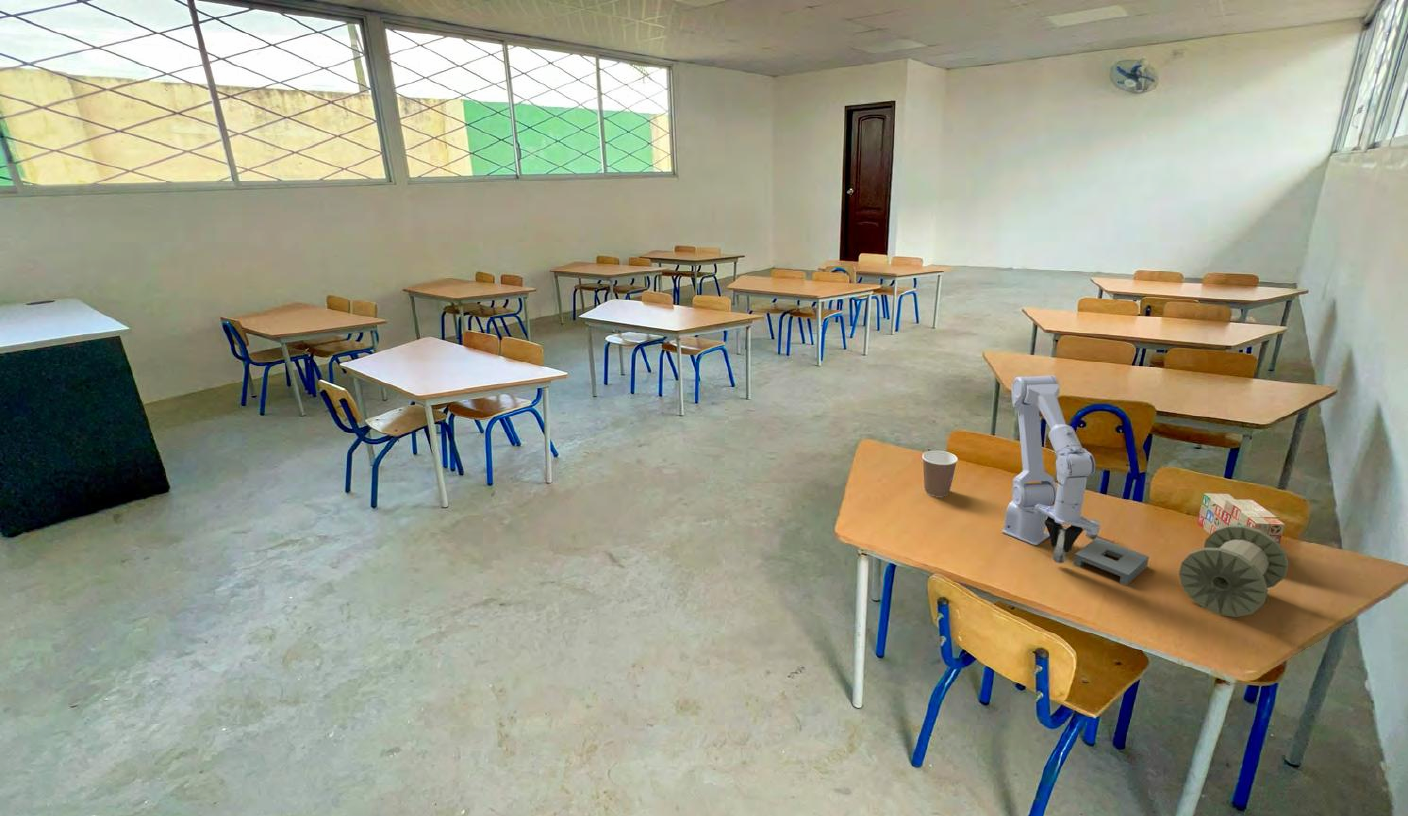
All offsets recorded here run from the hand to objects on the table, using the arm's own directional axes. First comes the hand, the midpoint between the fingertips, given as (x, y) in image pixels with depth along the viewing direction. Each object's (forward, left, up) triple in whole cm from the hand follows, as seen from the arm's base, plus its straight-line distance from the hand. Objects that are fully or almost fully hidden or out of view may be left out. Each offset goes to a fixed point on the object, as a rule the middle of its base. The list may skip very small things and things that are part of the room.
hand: (1060, 548), depth 159 cm
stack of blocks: (+24, +44, -6) cm, 50 cm away
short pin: (-1, +21, -5) cm, 22 cm away
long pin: (0, 0, -3) cm, 3 cm away
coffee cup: (-43, +13, -6) cm, 45 cm away
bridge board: (+8, +10, -5) cm, 14 cm away
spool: (+30, +16, -6) cm, 34 cm away
